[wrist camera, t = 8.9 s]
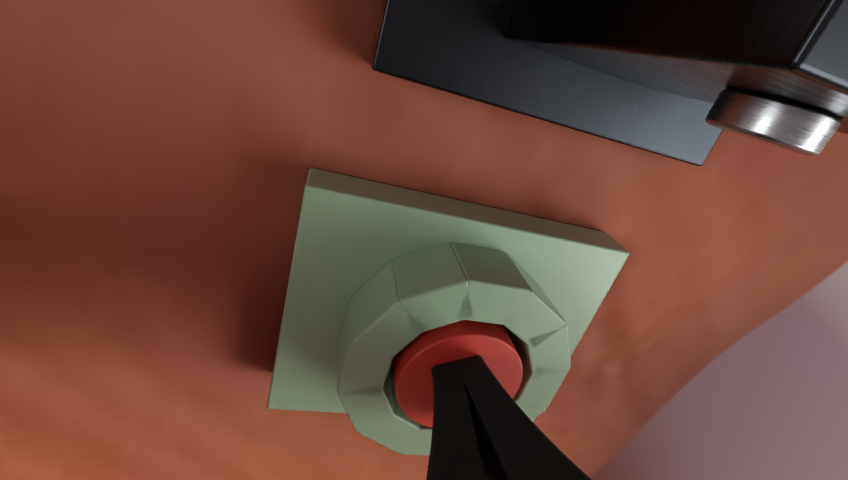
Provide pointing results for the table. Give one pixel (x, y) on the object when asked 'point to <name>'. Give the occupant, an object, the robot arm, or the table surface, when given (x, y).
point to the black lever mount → (636, 66)
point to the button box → (425, 296)
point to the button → (447, 347)
